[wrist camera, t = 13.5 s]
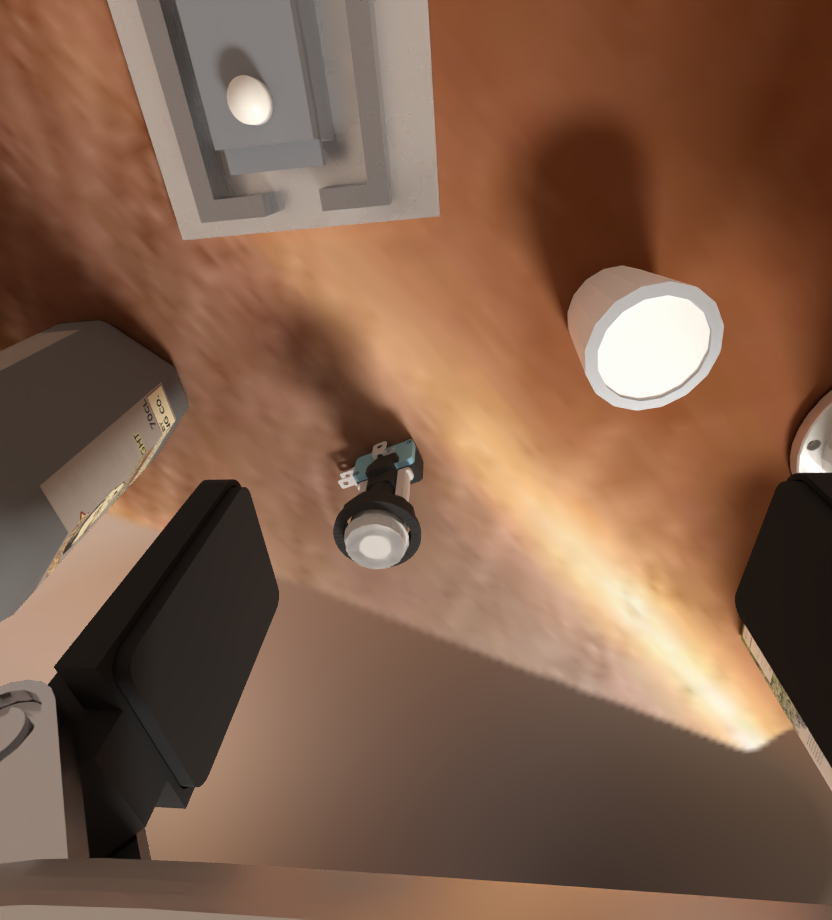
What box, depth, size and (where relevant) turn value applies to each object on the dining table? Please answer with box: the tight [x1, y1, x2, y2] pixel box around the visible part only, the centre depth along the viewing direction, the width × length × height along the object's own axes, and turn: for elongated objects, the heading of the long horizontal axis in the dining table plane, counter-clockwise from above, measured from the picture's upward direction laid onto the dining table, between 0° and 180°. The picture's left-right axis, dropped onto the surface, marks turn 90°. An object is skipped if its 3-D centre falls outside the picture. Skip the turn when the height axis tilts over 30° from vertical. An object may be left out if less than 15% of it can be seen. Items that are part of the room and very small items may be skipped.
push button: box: [333, 439, 423, 569], centre depth 33 cm, size 7×5×10 cm
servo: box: [175, 0, 336, 175], centre depth 21 cm, size 4×9×6 cm, turn 5°
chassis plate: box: [107, 0, 440, 240], centre depth 23 cm, size 15×15×4 cm
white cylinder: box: [567, 265, 724, 411], centre depth 28 cm, size 7×7×7 cm
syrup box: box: [741, 624, 832, 790], centre depth 39 cm, size 6×6×14 cm
